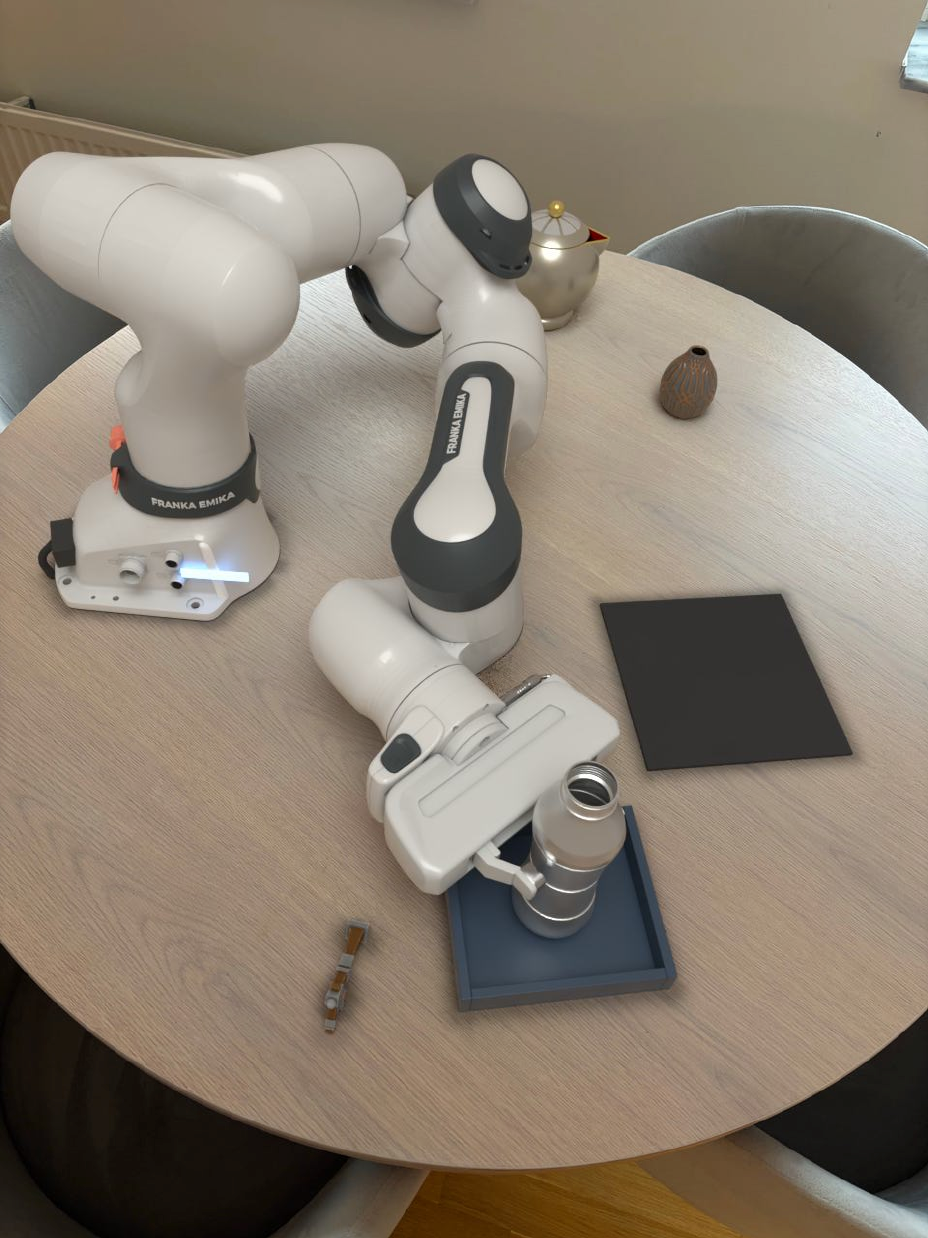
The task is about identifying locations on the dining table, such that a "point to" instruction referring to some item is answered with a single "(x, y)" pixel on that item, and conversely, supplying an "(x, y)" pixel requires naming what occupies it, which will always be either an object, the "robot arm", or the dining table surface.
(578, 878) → the silver metal bottle
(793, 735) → the mat
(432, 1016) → the dining table surface
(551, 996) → the tray
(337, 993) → the wooden post with brackets
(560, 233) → the teapot
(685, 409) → the vase
